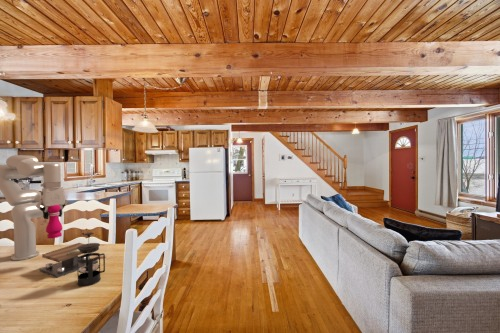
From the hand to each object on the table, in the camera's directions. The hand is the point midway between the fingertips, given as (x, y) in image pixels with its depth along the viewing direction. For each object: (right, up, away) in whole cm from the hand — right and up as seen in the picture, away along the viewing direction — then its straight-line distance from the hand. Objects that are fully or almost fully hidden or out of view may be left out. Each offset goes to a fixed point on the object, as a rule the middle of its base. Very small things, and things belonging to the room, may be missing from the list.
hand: (52, 217), depth 136 cm
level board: (+13, -19, -5) cm, 23 cm away
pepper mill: (+1, -11, 0) cm, 11 cm away
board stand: (+13, -26, -5) cm, 29 cm away
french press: (+34, -26, -21) cm, 48 cm away
